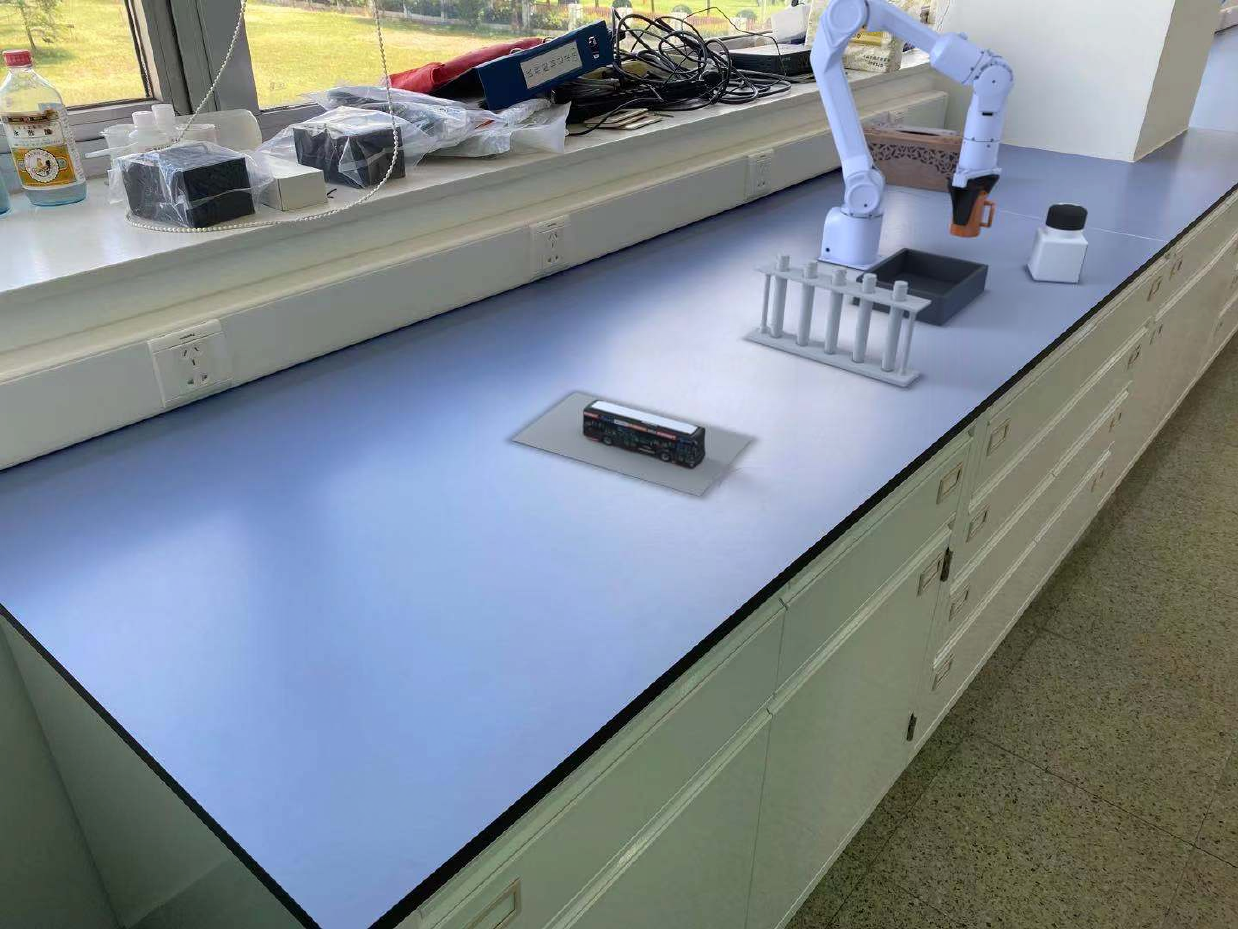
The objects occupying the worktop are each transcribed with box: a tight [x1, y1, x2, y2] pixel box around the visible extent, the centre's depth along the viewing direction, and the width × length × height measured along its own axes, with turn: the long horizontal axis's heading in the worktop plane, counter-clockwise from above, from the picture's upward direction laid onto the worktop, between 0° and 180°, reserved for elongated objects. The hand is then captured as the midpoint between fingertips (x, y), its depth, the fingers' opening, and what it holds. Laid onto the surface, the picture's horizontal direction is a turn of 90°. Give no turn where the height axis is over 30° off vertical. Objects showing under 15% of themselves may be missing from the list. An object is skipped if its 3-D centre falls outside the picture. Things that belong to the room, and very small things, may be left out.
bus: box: [511, 392, 751, 497], centre depth 115 cm, size 14×25×4 cm, turn 60°
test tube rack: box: [746, 251, 931, 388], centre depth 133 cm, size 25×4×13 cm, turn 50°
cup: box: [948, 190, 997, 239], centre depth 161 cm, size 7×5×7 cm
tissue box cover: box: [861, 120, 965, 193], centre depth 217 cm, size 26×14×10 cm, turn 58°
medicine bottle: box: [1027, 202, 1089, 284], centre depth 162 cm, size 7×7×12 cm
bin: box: [852, 247, 990, 327], centre depth 155 cm, size 15×19×4 cm
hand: (965, 220), depth 163 cm, fingers closed on cup, 5 cm apart
